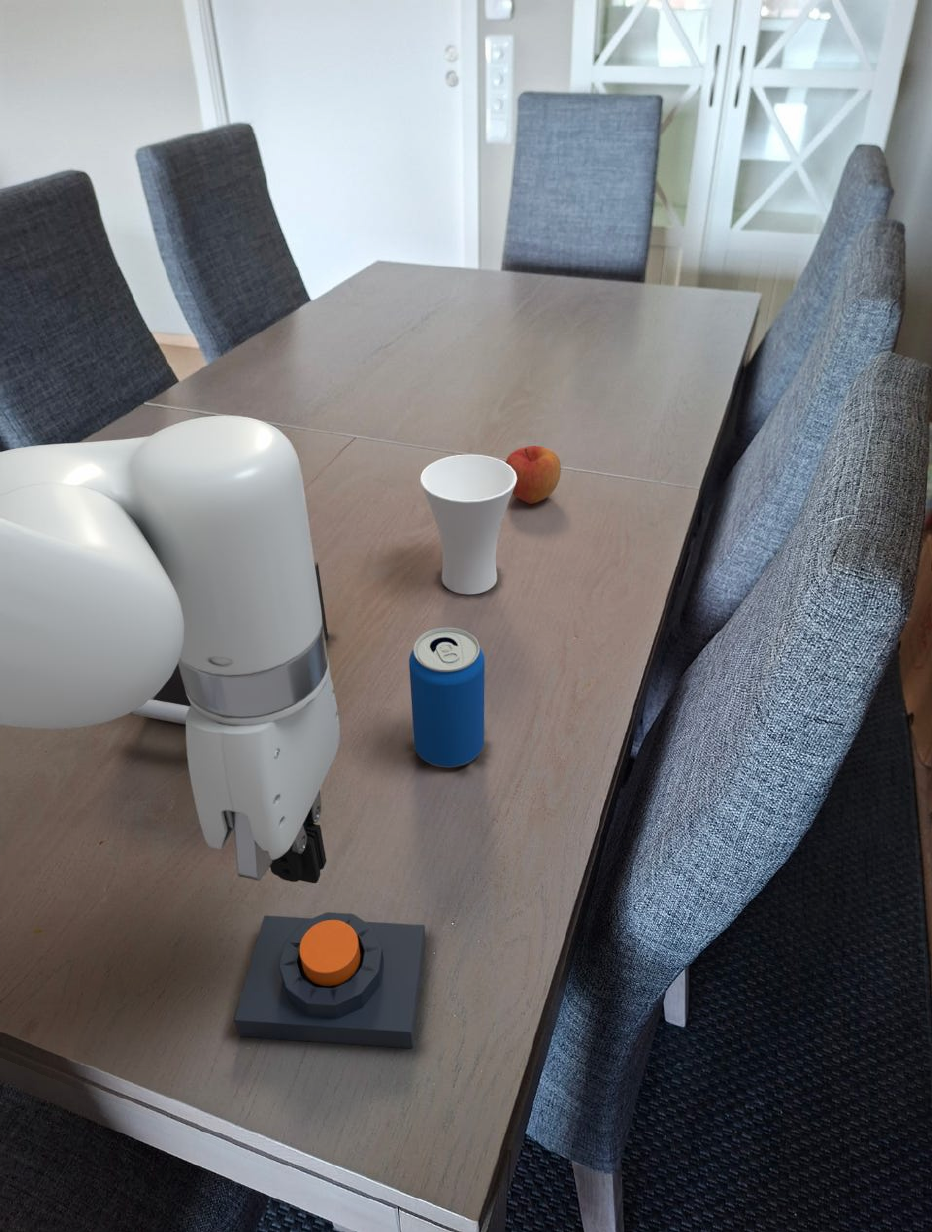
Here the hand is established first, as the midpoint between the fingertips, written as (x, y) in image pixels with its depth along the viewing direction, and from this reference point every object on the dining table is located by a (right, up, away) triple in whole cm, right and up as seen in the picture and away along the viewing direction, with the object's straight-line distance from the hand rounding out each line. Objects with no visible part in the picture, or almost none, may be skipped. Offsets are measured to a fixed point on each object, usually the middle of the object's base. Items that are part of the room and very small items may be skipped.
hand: (299, 869), depth 57 cm
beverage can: (+9, +4, +25) cm, 27 cm away
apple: (+20, +32, +60) cm, 71 cm away
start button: (+2, -7, +4) cm, 8 cm away
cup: (+11, +21, +46) cm, 52 cm away
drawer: (-13, +9, +29) cm, 33 cm away
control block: (+2, -10, +6) cm, 12 cm away
